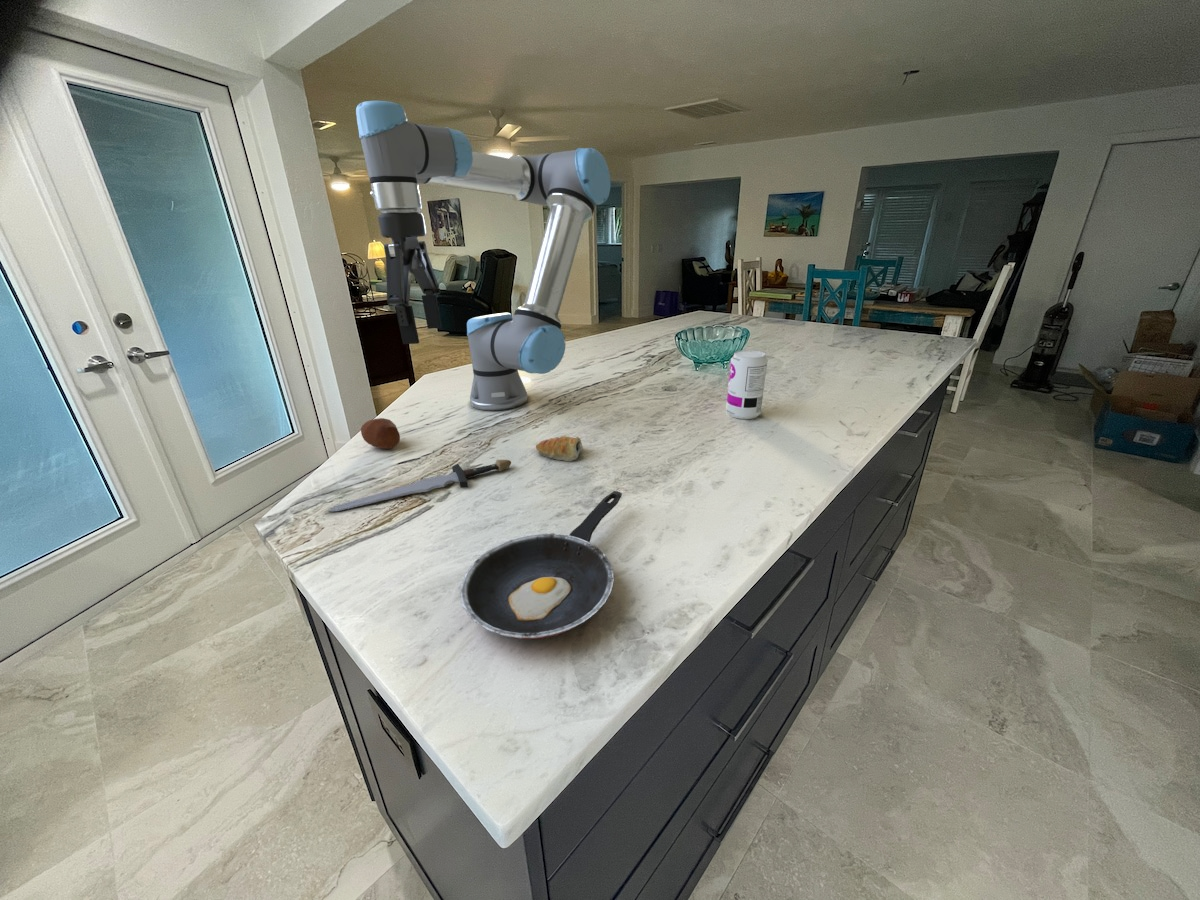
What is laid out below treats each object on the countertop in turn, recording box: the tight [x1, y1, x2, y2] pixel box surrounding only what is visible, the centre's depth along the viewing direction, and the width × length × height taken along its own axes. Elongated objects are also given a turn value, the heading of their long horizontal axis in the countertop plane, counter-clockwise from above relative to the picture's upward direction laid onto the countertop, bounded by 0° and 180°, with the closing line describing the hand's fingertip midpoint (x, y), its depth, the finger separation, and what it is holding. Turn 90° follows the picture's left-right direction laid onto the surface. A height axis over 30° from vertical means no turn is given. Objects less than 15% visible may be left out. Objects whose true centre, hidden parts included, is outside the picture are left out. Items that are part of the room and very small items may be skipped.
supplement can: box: [725, 349, 769, 420], centre depth 112 cm, size 8×8×15 cm
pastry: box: [535, 435, 583, 462], centre depth 96 cm, size 9×7×4 cm
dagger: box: [327, 459, 512, 512], centre depth 84 cm, size 8×32×2 cm, turn 125°
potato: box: [360, 417, 401, 450], centre depth 102 cm, size 7×9×6 cm
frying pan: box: [459, 490, 623, 640], centre depth 64 cm, size 19×32×4 cm, turn 152°
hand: (423, 335), depth 90 cm, fingers open, 13 cm apart
